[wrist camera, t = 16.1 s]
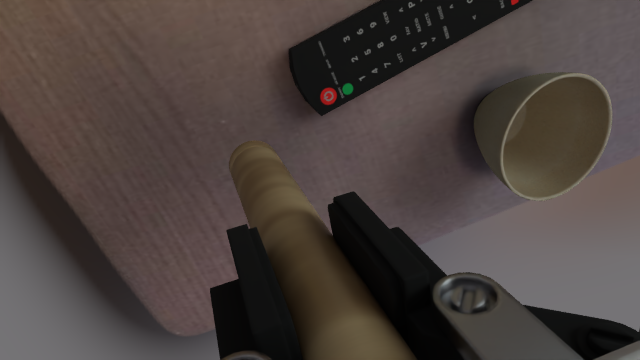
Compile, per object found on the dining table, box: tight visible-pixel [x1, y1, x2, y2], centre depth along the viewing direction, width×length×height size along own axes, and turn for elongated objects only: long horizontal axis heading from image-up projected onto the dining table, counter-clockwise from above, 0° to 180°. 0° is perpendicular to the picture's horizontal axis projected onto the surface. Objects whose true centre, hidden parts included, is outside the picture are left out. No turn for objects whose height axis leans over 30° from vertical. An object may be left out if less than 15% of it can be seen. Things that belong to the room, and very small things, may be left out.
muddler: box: [229, 141, 417, 360], centre depth 13 cm, size 2×2×13 cm
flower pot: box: [474, 72, 612, 201], centre depth 37 cm, size 10×10×7 cm
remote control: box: [289, 0, 532, 116], centre depth 34 cm, size 5×24×1 cm, turn 114°
